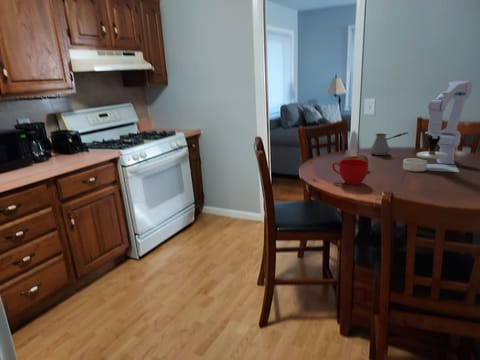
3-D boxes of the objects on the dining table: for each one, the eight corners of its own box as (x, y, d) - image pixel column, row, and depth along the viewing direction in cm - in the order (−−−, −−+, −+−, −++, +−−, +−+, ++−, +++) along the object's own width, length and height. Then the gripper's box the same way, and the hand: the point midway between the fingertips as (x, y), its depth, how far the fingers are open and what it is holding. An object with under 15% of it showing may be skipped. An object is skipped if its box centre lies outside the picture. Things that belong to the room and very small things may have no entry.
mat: (425, 164, 187) (425, 163, 186) (455, 166, 181) (455, 165, 181) (427, 170, 174) (427, 170, 174) (459, 172, 169) (459, 172, 169)
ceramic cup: (337, 176, 172) (338, 157, 169) (371, 181, 162) (372, 161, 159) (326, 183, 162) (326, 162, 160) (361, 188, 152) (362, 167, 149)
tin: (343, 173, 178) (344, 157, 175) (340, 171, 181) (340, 156, 178) (368, 169, 181) (369, 154, 179) (364, 168, 184) (365, 153, 182)
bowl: (402, 165, 186) (403, 157, 184) (425, 167, 181) (426, 159, 180) (402, 171, 176) (403, 162, 175) (426, 172, 172) (427, 163, 170)
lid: (416, 152, 185) (416, 145, 184) (445, 152, 179) (446, 145, 178) (417, 158, 173) (417, 150, 171) (449, 158, 167) (449, 150, 166)
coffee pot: (367, 155, 213) (368, 131, 209) (373, 151, 222) (374, 129, 218) (403, 158, 201) (406, 133, 196) (408, 155, 209) (411, 130, 205)
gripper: (425, 122, 179) (422, 147, 183) (427, 125, 167) (424, 152, 170) (440, 122, 176) (437, 147, 180) (443, 125, 164) (440, 153, 168)
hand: (431, 150), depth 175 cm, fingers closed on lid, 3 cm apart
